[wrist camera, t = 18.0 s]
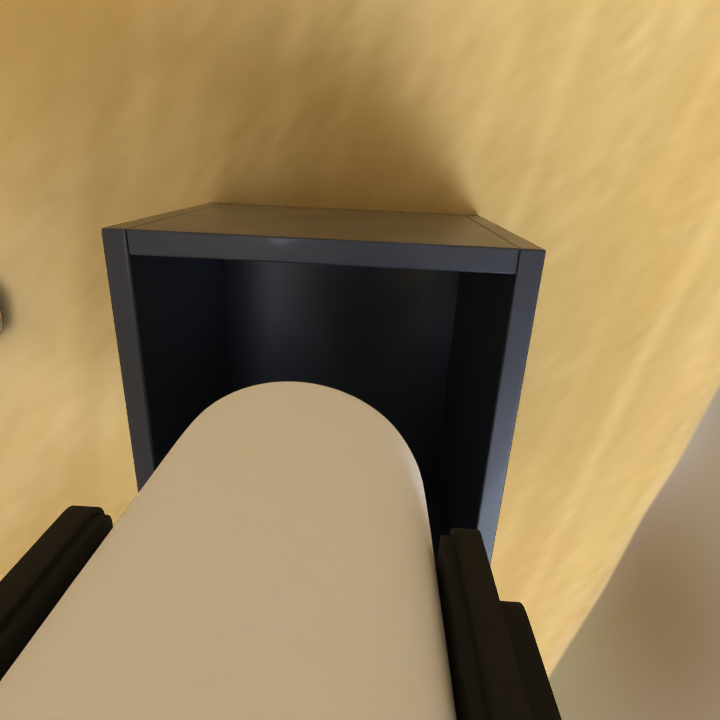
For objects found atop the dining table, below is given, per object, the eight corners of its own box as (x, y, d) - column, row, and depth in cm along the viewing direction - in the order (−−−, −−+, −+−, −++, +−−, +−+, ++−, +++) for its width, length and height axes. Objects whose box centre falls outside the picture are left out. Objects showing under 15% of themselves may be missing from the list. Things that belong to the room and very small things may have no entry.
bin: (210, 202, 25) (99, 227, 15) (479, 215, 25) (546, 249, 15) (226, 465, 31) (153, 609, 21) (446, 477, 31) (479, 629, 21)
